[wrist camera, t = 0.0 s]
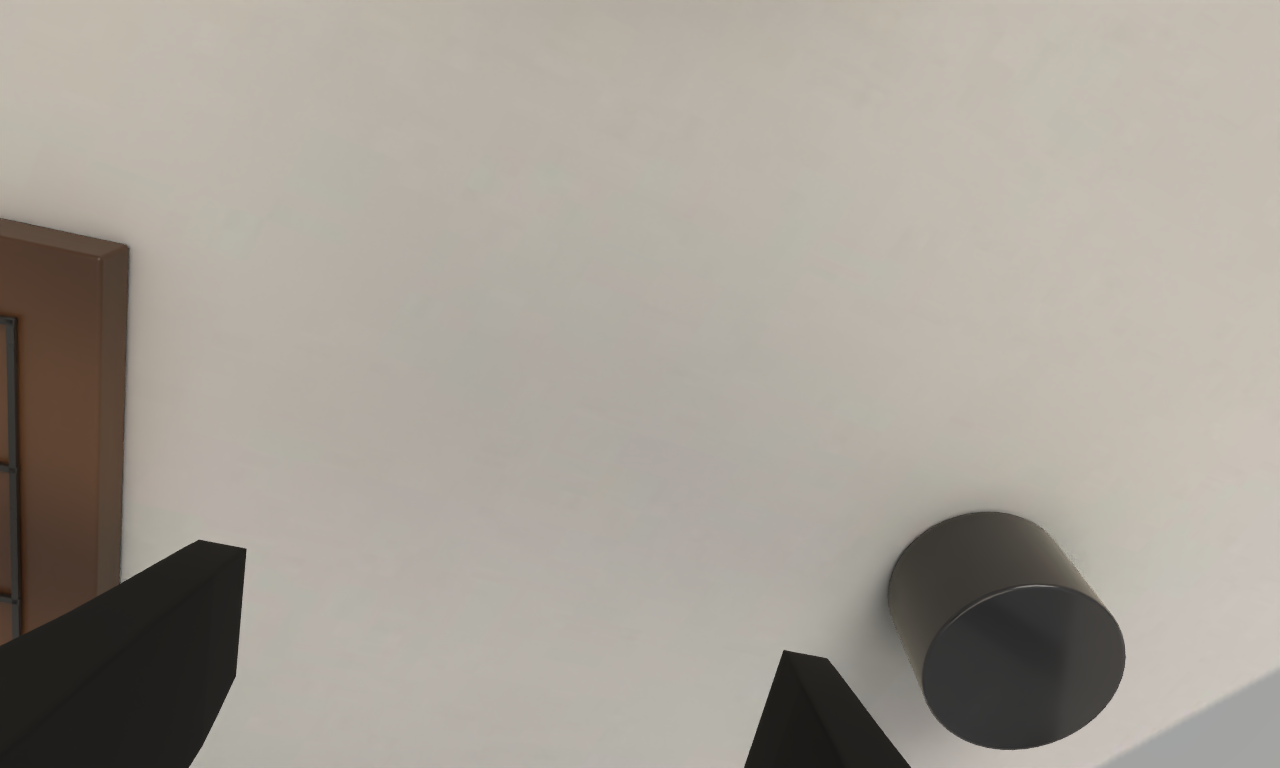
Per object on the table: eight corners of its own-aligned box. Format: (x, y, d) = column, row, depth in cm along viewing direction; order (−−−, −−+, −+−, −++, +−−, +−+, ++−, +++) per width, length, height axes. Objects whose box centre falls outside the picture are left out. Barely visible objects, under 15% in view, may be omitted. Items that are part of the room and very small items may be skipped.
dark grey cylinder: (1027, 675, 25) (1080, 766, 22) (864, 644, 24) (895, 732, 21) (1093, 529, 23) (1160, 606, 20) (920, 494, 23) (962, 567, 20)
